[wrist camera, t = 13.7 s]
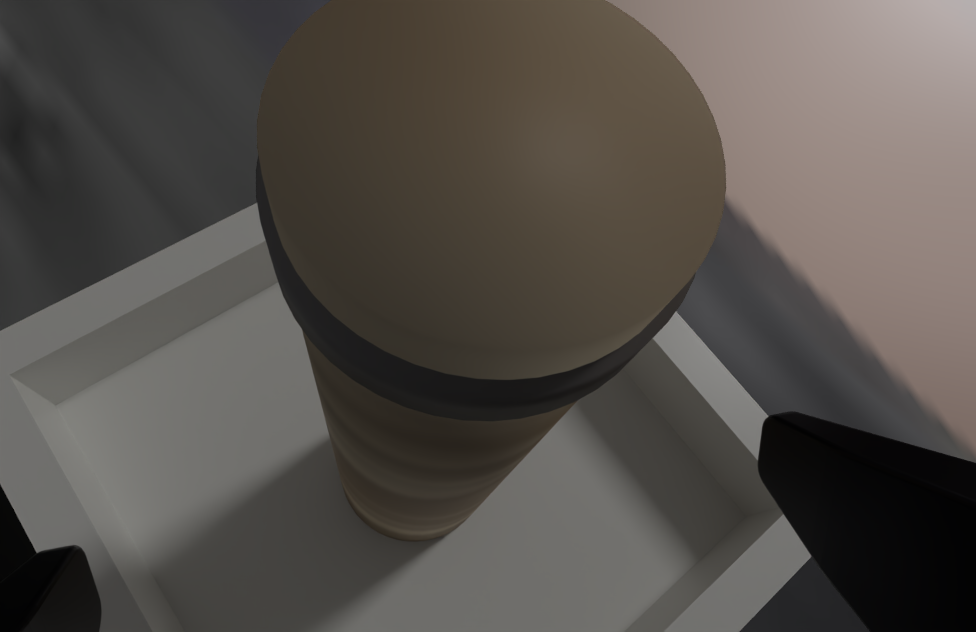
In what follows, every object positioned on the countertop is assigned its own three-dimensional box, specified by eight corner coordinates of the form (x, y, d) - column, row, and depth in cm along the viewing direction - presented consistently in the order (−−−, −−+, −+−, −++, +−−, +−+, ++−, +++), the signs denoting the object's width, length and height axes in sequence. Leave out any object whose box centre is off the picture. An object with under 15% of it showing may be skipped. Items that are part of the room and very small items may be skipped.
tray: (781, 528, 18) (853, 512, 15) (325, 978, 13) (312, 1073, 10) (468, 157, 21) (481, 90, 19) (9, 404, 16) (-64, 363, 14)
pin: (434, 580, 15) (591, 481, 4) (302, 483, 16) (121, 157, 5) (521, 445, 17) (807, 109, 6) (399, 361, 17) (440, -107, 6)
